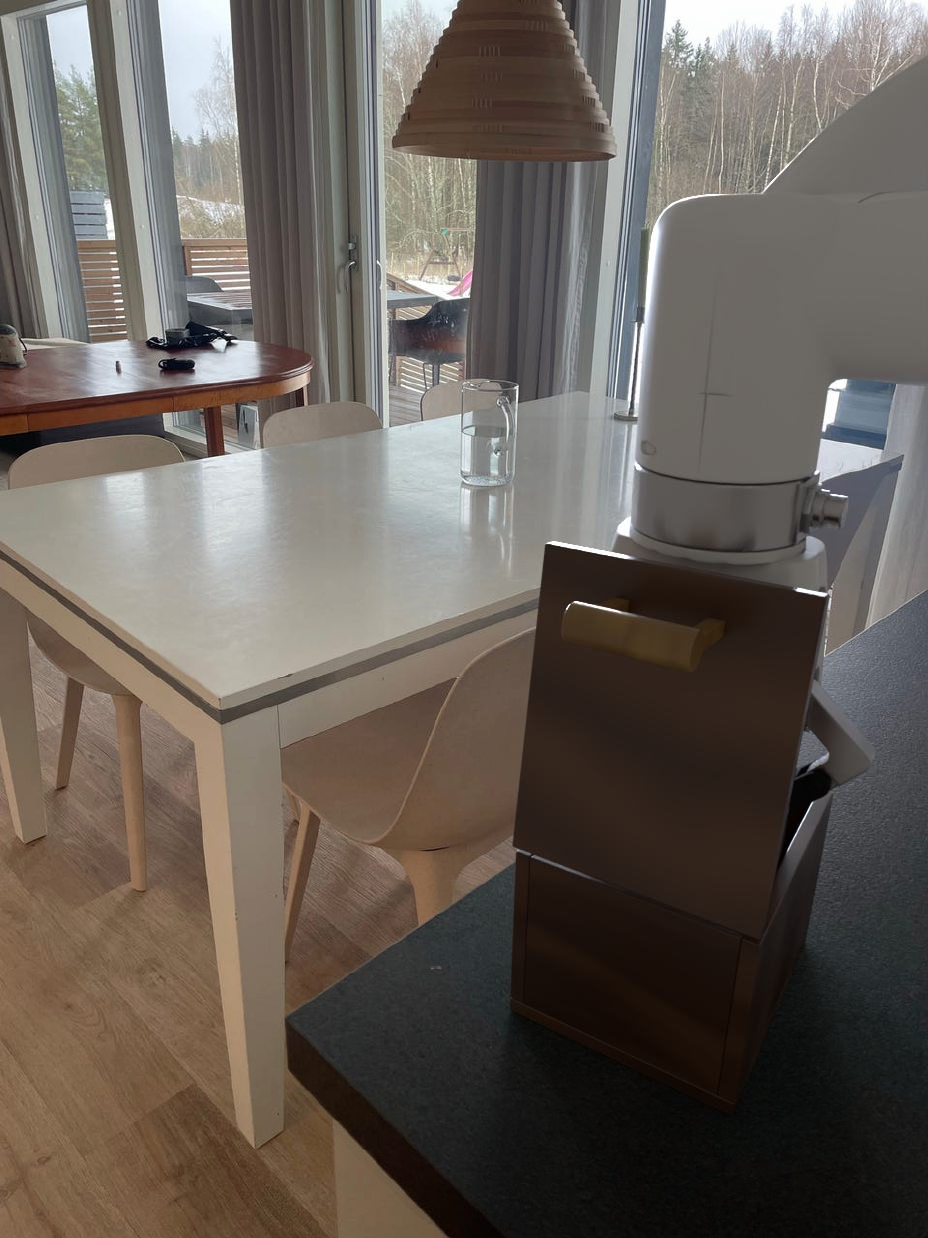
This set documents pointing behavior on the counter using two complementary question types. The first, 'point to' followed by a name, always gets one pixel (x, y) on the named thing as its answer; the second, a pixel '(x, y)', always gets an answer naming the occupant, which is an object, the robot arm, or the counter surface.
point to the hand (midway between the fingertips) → (681, 844)
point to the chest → (661, 968)
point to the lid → (666, 728)
